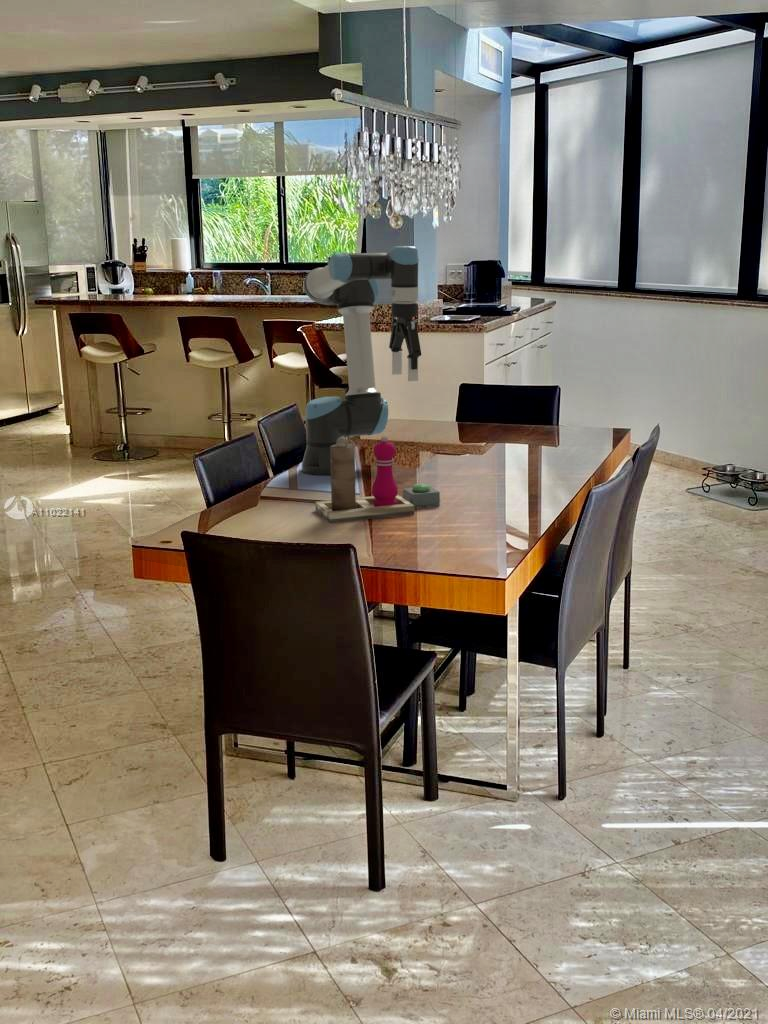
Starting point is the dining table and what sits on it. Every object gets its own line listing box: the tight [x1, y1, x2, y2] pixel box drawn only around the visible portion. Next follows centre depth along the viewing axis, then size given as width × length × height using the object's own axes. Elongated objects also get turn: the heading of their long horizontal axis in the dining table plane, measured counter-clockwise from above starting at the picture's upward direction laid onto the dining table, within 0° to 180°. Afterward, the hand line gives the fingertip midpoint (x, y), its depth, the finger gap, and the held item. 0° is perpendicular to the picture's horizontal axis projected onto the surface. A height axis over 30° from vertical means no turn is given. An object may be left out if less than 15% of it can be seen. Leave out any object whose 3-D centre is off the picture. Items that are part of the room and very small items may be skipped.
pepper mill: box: [371, 435, 399, 507], centre depth 293 cm, size 7×7×20 cm
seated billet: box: [330, 437, 357, 511], centre depth 289 cm, size 7×7×21 cm
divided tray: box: [315, 494, 415, 524], centre depth 293 cm, size 14×24×2 cm, turn 110°
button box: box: [402, 486, 441, 509], centre depth 301 cm, size 8×8×4 cm
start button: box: [412, 483, 431, 492], centre depth 301 cm, size 5×5×4 cm
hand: (404, 377), depth 305 cm, fingers open, 13 cm apart
